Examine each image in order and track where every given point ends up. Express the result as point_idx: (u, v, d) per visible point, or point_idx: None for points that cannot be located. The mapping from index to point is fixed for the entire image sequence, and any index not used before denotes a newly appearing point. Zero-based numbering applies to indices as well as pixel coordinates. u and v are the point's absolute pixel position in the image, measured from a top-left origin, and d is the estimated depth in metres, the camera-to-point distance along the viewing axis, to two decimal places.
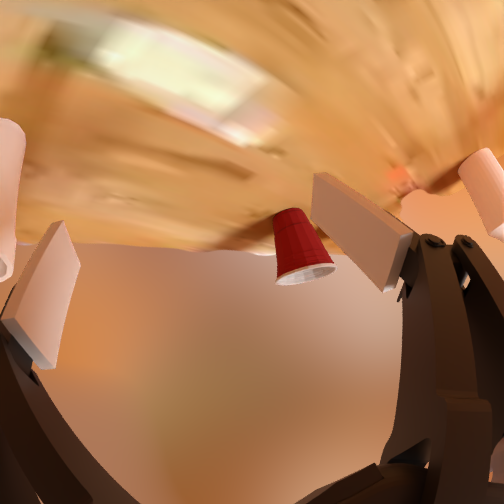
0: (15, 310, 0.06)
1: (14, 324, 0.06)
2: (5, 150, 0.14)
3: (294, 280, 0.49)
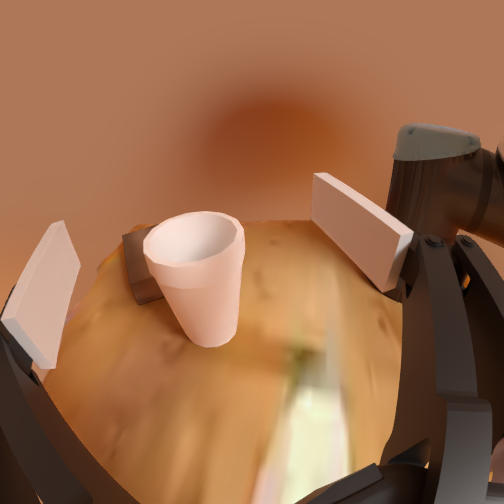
0: (15, 310, 0.06)
1: (14, 324, 0.06)
2: (230, 319, 0.28)
3: None
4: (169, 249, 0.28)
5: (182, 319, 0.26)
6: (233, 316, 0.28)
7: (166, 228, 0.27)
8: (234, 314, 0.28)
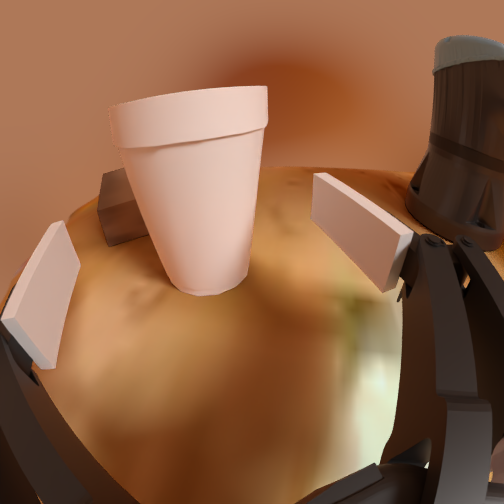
0: (15, 310, 0.06)
1: (14, 324, 0.06)
2: (240, 238, 0.17)
3: None
4: None
5: (159, 233, 0.15)
6: (245, 235, 0.17)
7: None
8: (247, 232, 0.17)
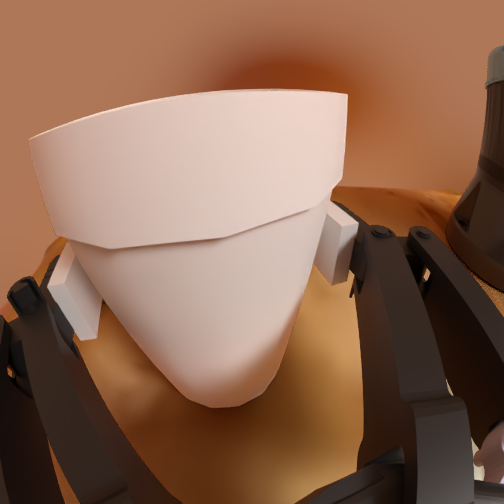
0: (64, 277, 0.07)
1: (62, 290, 0.07)
2: (277, 351, 0.10)
3: None
4: None
5: (147, 354, 0.09)
6: (284, 342, 0.11)
7: None
8: (287, 337, 0.11)
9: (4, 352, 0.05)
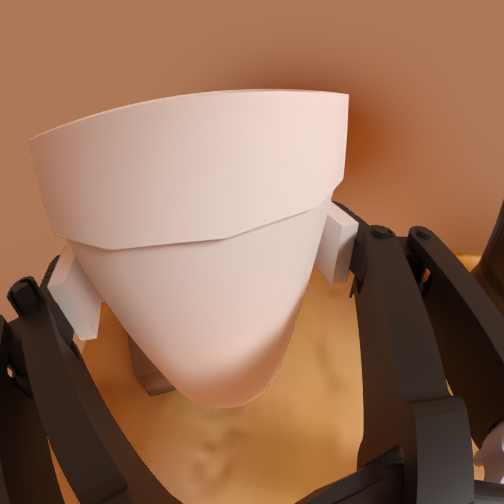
0: (64, 277, 0.07)
1: (62, 291, 0.07)
2: (278, 352, 0.10)
3: None
4: None
5: (148, 354, 0.09)
6: (284, 343, 0.11)
7: None
8: (287, 338, 0.11)
9: (4, 352, 0.05)
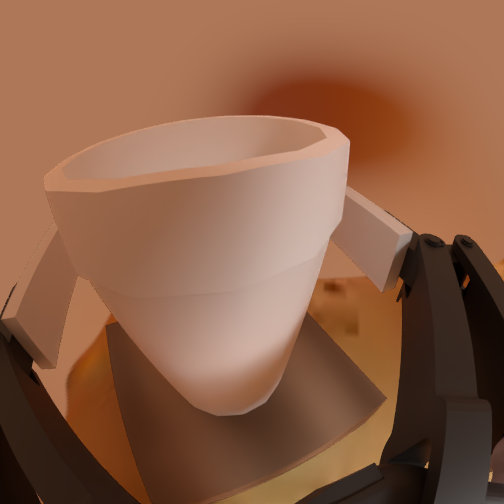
0: (16, 309, 0.06)
1: (15, 323, 0.06)
2: (279, 367, 0.11)
3: None
4: None
5: (160, 370, 0.09)
6: (285, 359, 0.11)
7: (131, 145, 0.10)
8: (288, 354, 0.11)
9: None
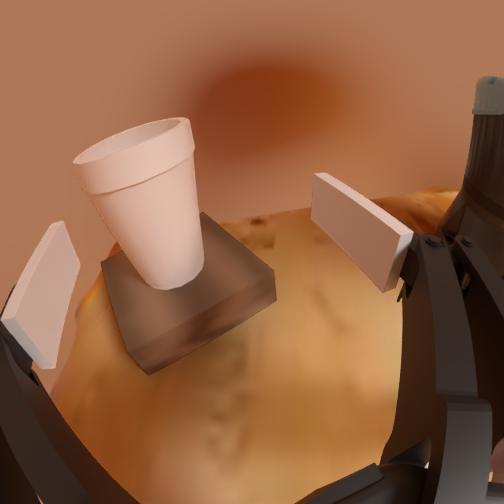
0: (15, 310, 0.06)
1: (14, 324, 0.06)
2: (187, 241, 0.21)
3: None
4: None
5: (127, 248, 0.20)
6: (192, 238, 0.22)
7: (105, 145, 0.20)
8: (193, 236, 0.22)
9: None
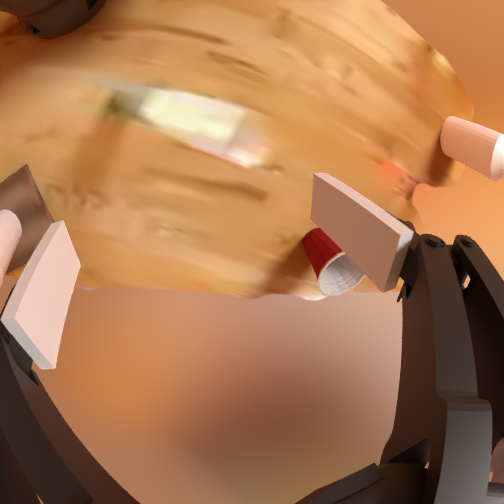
0: (15, 310, 0.06)
1: (14, 324, 0.06)
2: (5, 224, 0.25)
3: (338, 290, 0.49)
4: None
5: None
6: (2, 221, 0.25)
7: None
8: (1, 221, 0.25)
9: None
